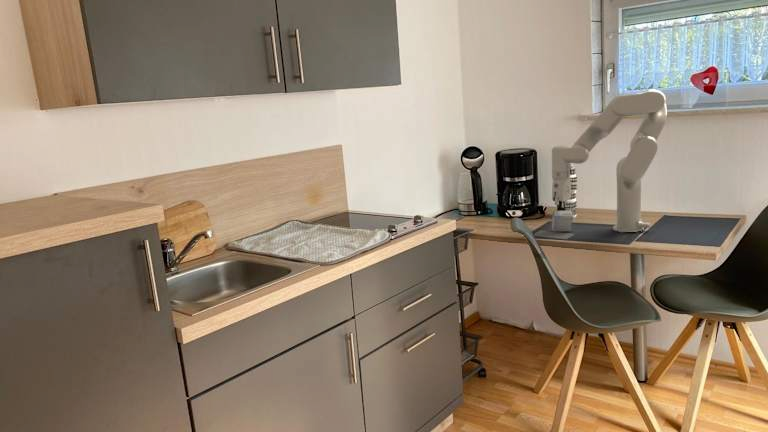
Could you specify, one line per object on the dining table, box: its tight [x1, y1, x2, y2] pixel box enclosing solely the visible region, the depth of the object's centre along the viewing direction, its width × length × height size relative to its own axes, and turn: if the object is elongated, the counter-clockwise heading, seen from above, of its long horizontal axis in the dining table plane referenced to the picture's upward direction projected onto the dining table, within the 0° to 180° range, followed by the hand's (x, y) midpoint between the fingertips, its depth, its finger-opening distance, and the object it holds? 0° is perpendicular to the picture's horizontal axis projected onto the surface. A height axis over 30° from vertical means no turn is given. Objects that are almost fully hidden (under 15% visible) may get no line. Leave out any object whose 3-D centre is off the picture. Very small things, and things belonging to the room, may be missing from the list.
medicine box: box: [551, 210, 574, 233], centre depth 267 cm, size 8×4×9 cm, turn 84°
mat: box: [533, 230, 576, 241], centre depth 264 cm, size 16×9×1 cm, turn 50°
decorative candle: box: [566, 163, 578, 218], centre depth 294 cm, size 9×9×25 cm
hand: (561, 215), depth 270 cm, fingers closed
